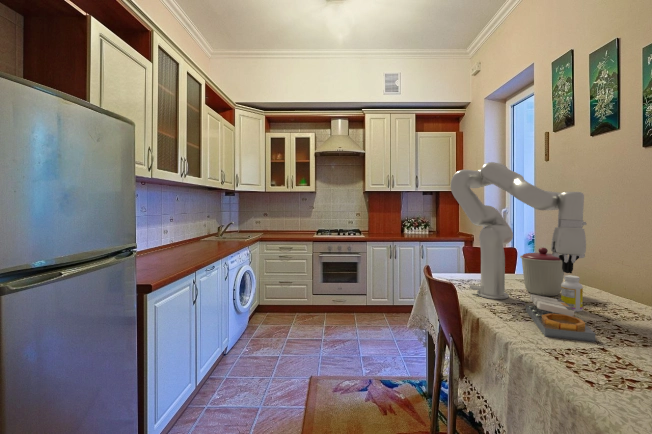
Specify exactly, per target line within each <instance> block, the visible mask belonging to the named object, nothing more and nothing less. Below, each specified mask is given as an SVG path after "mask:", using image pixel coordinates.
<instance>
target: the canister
mask: <svg viewBox="0 0 652 434" xmlns="http://www.w3.org/2000/svg"><path fill="white" fill-rule="evenodd" d="M548 251H549V250H548V249H547V248H546V247H540V248H538V252H528V253H523V254H522V255H519V258H520V259H521V264H522V265H521V266H522V275H523V283H524V286H525V289H526V291H527V292H528V293H530V294H533V295H538V296H543V297H553V296H554V297H555V296H558V295H559V294H560V293H561V284H562V283H563V282H564V276H565V272H563V270H562V261H561V260H560V259H559V258H558V257H555V256H552V253H548Z"/></svg>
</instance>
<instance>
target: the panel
mask: <svg viewBox="0 0 652 434" xmlns="http://www.w3.org/2000/svg"><path fill="white" fill-rule="evenodd" d="M525 312H526V313H527V314H528V316H529V317H530V318H531V319H532V321H533V322H534V323H535V326H536V327H537V328H538V329H539V330H540V332H542V334H543V336H544V337H548V338H557V339H564V340H565V339H566V340H572V341H573V340H575V341H583V342H593V343H596V333H595V332H594V331H593V330H592V329H591V328H590V327H589V326H588V325H586V322H585V321H584V320H582V319H581V318H579V317H577V316H576V315H575V314H574V316H573V317H572V316H568V315H564V314H559V313H555V312H550V311H546V310H542V309H538V307H537V305H535V304H525Z"/></svg>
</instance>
